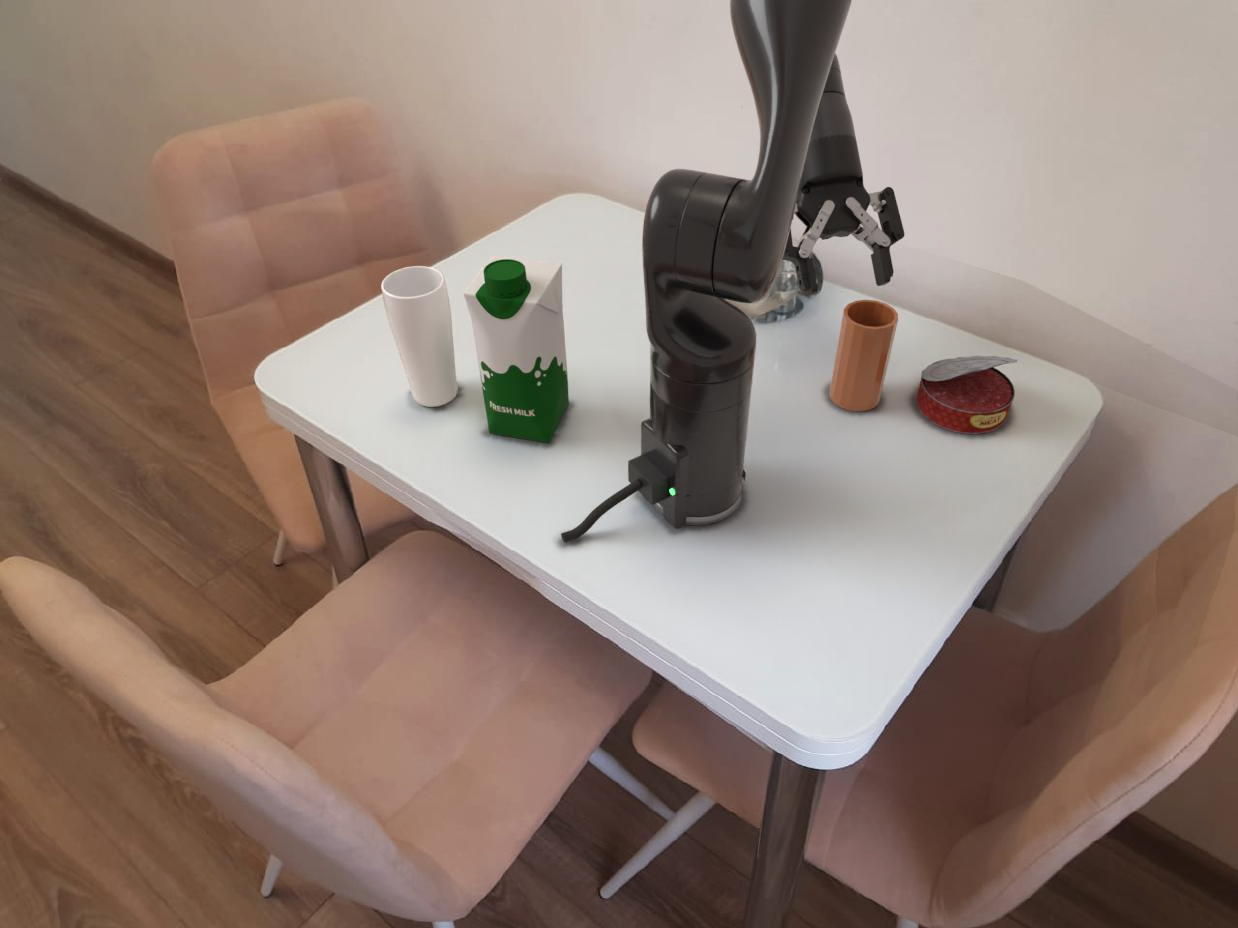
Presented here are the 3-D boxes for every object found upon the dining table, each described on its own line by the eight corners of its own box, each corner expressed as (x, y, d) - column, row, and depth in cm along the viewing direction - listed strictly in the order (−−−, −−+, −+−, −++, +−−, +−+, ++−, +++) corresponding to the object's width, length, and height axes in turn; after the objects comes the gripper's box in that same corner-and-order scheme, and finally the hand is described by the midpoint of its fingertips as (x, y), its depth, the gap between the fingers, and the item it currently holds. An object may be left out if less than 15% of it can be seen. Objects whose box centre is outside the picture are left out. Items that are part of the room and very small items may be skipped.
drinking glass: (402, 383, 104) (376, 271, 94) (459, 372, 105) (440, 260, 95) (410, 418, 99) (383, 303, 89) (469, 406, 101) (450, 291, 91)
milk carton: (478, 437, 97) (451, 276, 83) (508, 388, 103) (487, 231, 90) (554, 450, 95) (539, 287, 81) (579, 400, 101) (569, 241, 88)
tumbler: (853, 417, 98) (870, 334, 90) (818, 392, 101) (832, 310, 94) (889, 400, 100) (909, 317, 93) (854, 375, 104) (870, 294, 96)
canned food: (923, 456, 100) (895, 392, 94) (932, 396, 106) (906, 332, 100) (1031, 441, 93) (1008, 372, 88) (1034, 378, 99) (1012, 310, 94)
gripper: (771, 139, 93) (799, 289, 93) (896, 124, 95) (924, 271, 95) (750, 167, 101) (776, 306, 100) (866, 153, 103) (892, 289, 102)
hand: (848, 289), depth 97 cm, fingers open, 8 cm apart
